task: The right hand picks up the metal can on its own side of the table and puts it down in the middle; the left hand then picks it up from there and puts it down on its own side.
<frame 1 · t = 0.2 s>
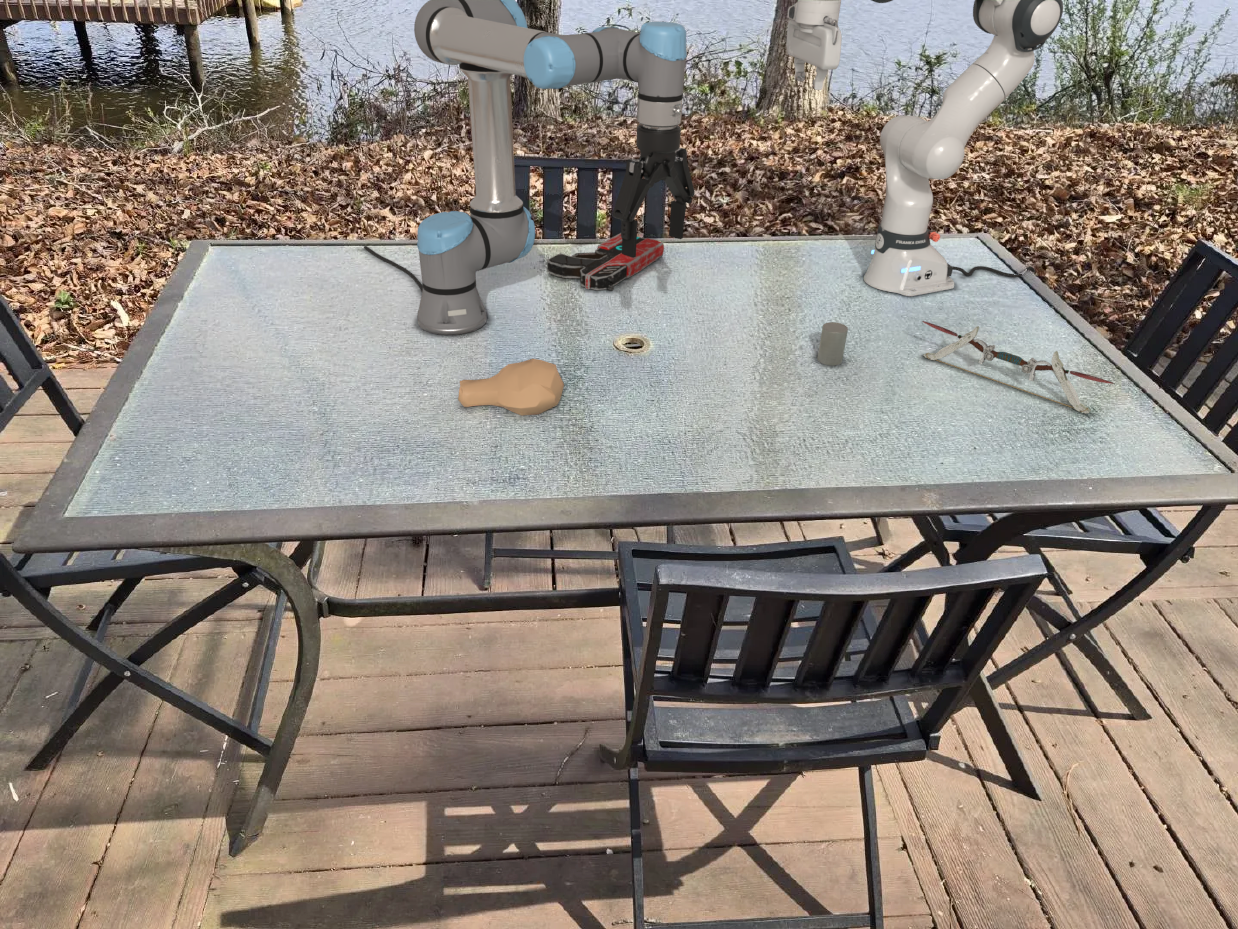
left hand: (652, 246, 160), 28 cm above the table, tool pointing down, fingers open, 13 cm apart
right hand: (807, 84, 190), 48 cm above the table, tool pointing down, fingers open, 8 cm apart
can: (829, 360, 186), on the table
squash: (511, 406, 166), on the table
bow: (1002, 384, 179), on the table
gun: (607, 267, 227), on the table
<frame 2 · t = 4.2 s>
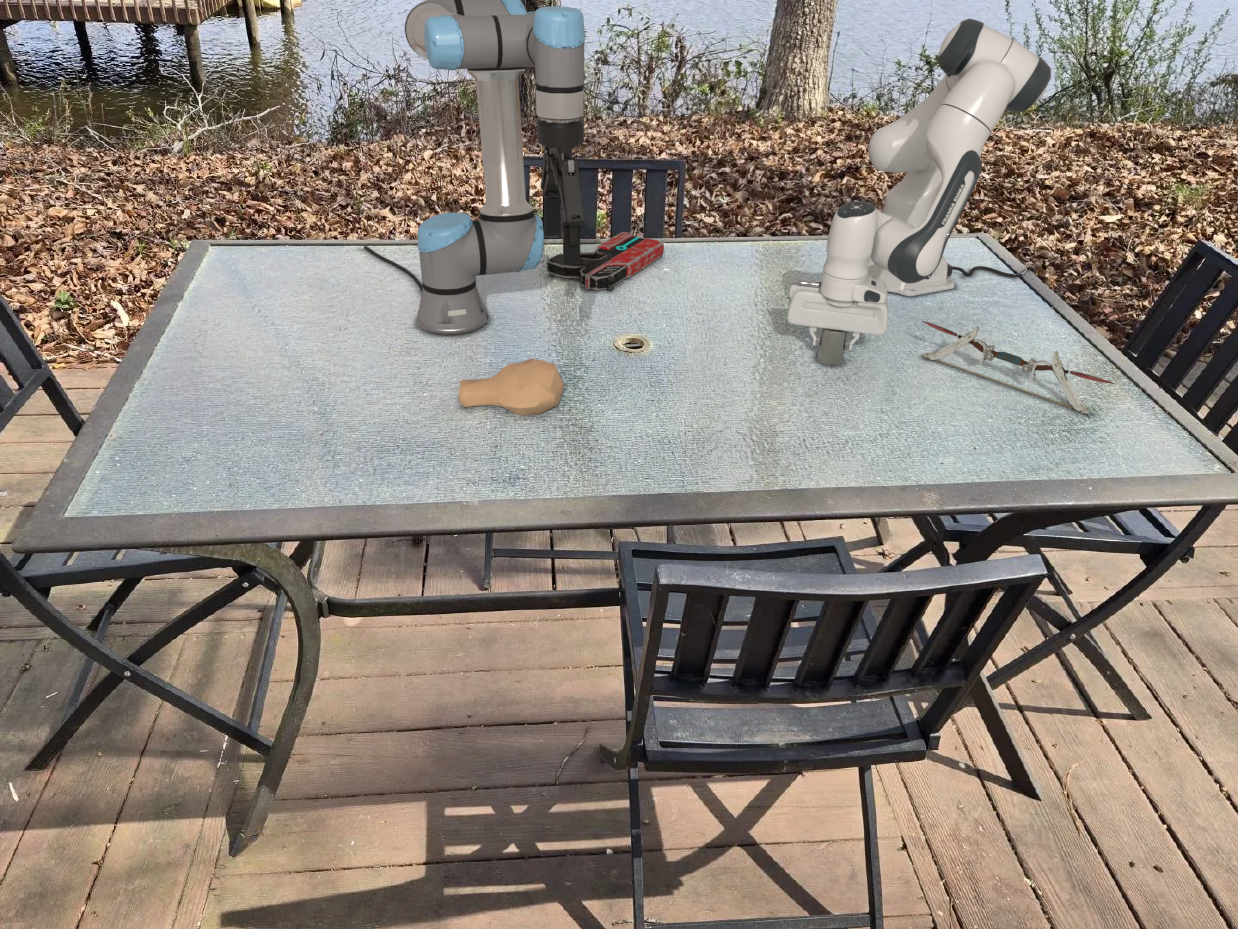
left hand: (561, 248, 150), 31 cm above the table, tool pointing down, fingers open, 13 cm apart
right hand: (832, 347, 184), 3 cm above the table, tool pointing down, fingers closed on can, 5 cm apart
can: (829, 360, 186), on the table, touching right hand
everything else where it was.
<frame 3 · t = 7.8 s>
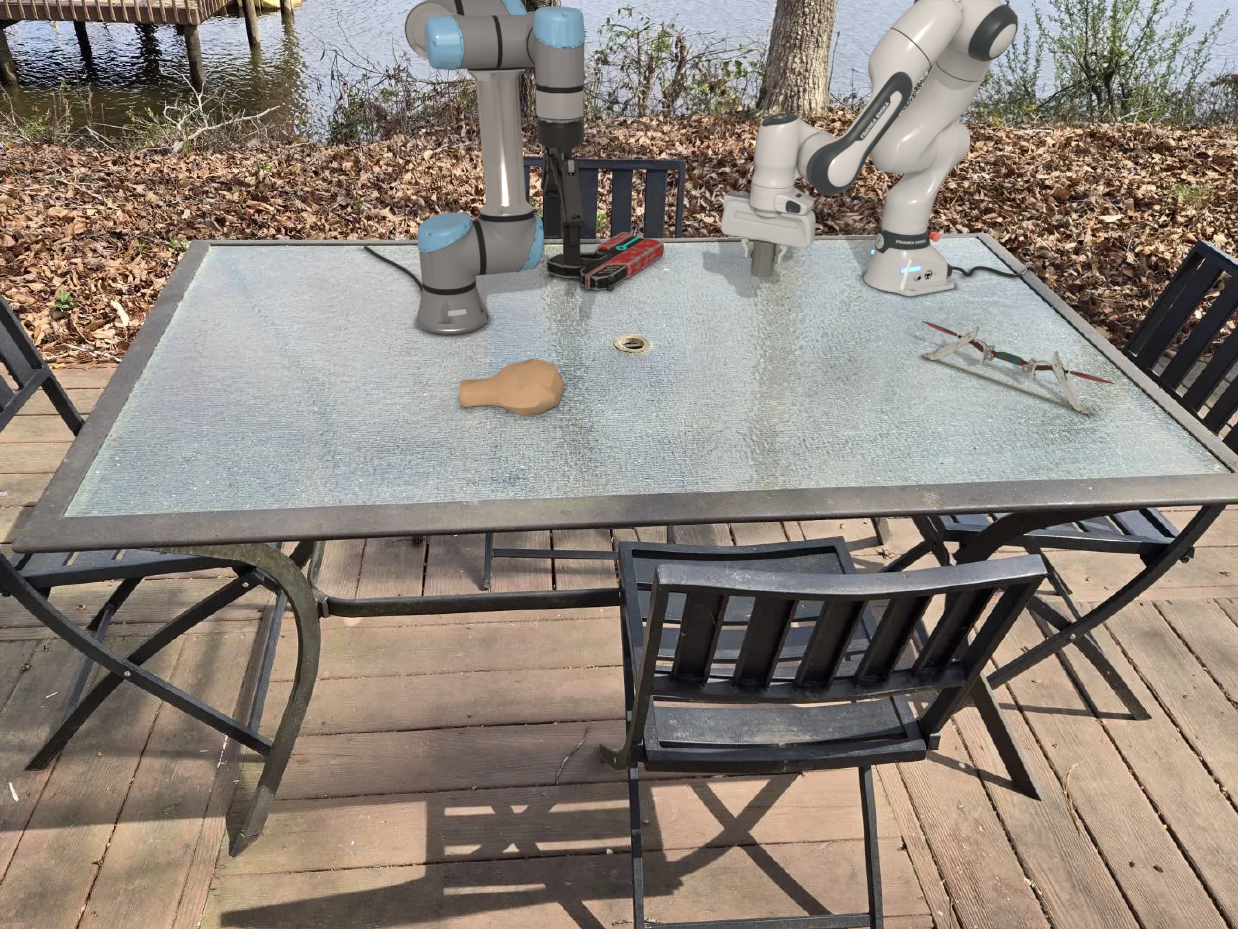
left hand: (561, 248, 150), 31 cm above the table, tool pointing down, fingers open, 13 cm apart
right hand: (763, 260, 191), 15 cm above the table, tool pointing down, fingers closed on can, 5 cm apart
can: (761, 273, 193), point 12 cm above the table, touching right hand
everything else where it was.
when the right hand's fingers open (5 cm above the table, at t = 11.7 s): can drops 2 cm, on the table.
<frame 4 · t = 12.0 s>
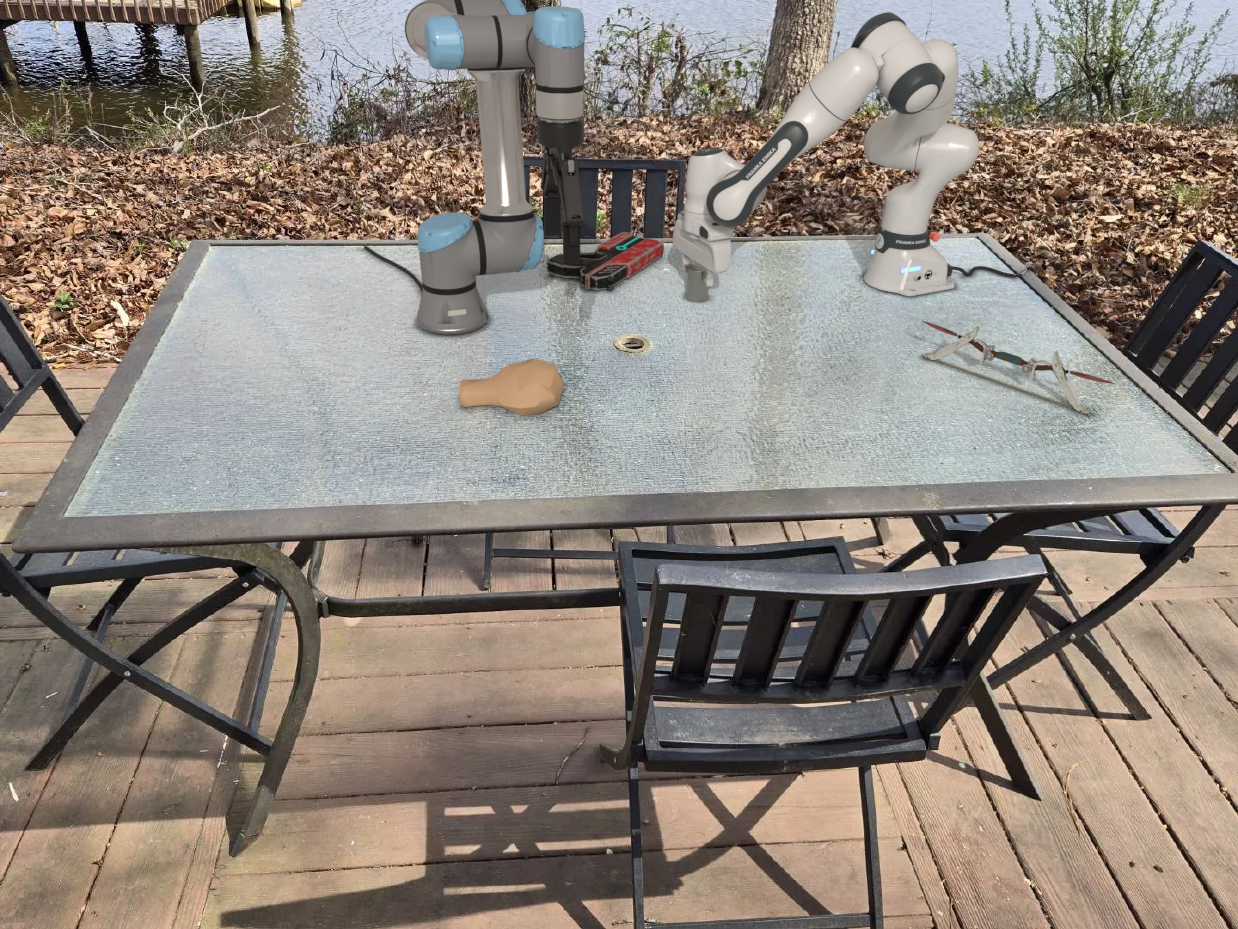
left hand: (561, 248, 150), 31 cm above the table, tool pointing down, fingers open, 13 cm apart
right hand: (697, 278, 209), 5 cm above the table, tool pointing down, fingers open, 8 cm apart
can: (696, 297, 212), on the table
everything else where it was.
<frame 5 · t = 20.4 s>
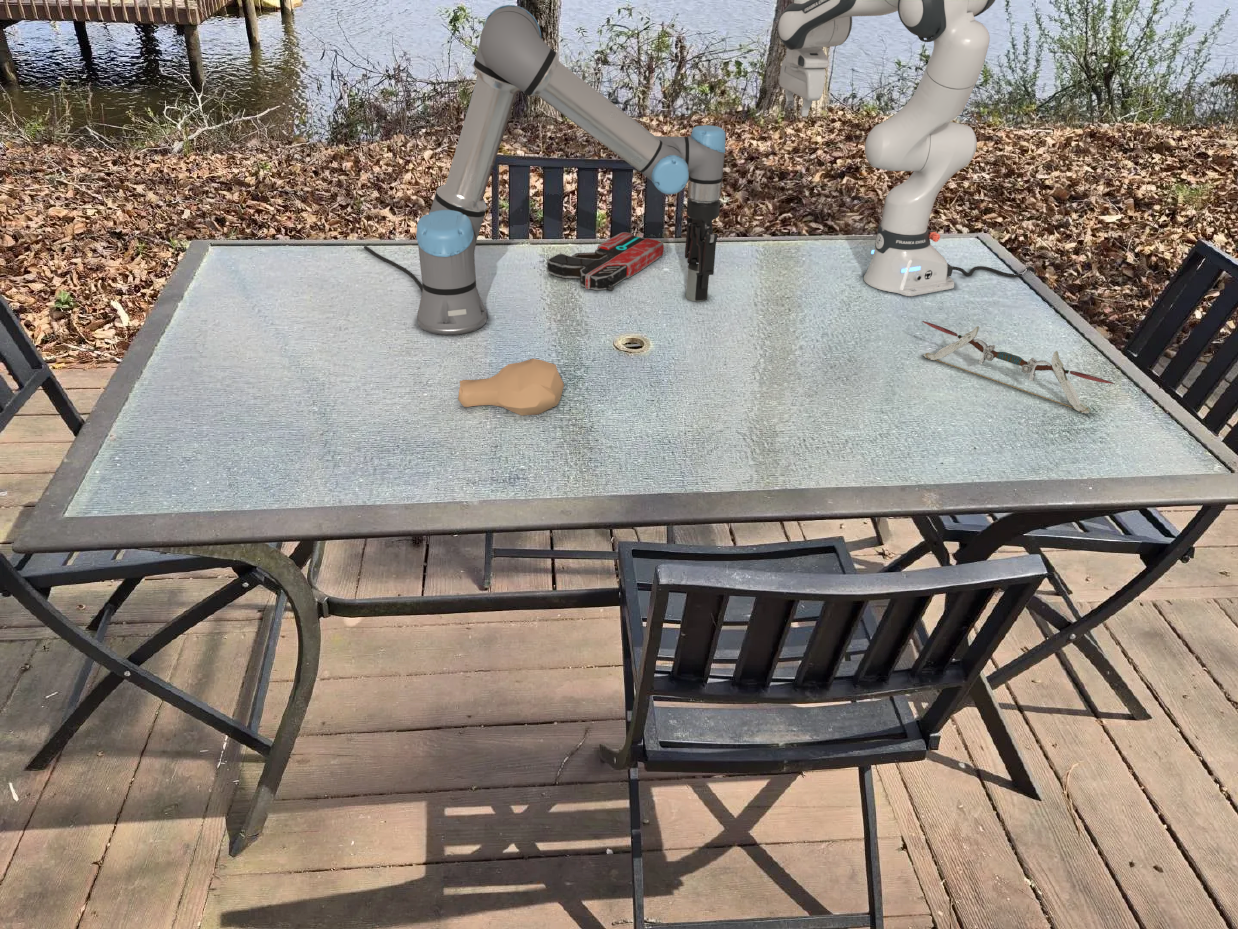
left hand: (696, 294, 212), 1 cm above the table, tool pointing down, fingers closed on can, 5 cm apart
right hand: (796, 111, 233), 33 cm above the table, tool pointing down, fingers open, 8 cm apart
can: (696, 297, 212), on the table, touching left hand
everything else where it was.
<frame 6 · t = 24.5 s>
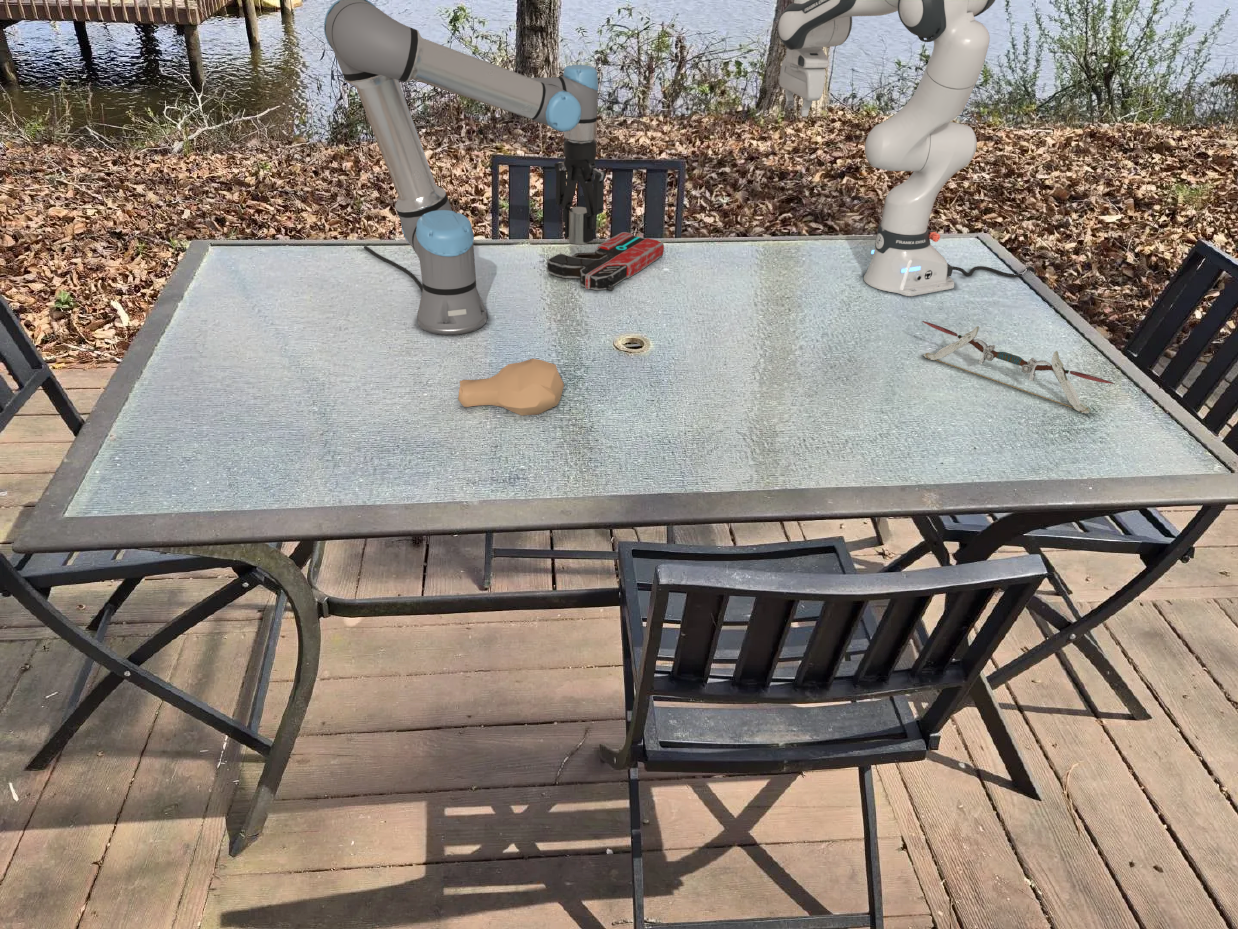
left hand: (578, 238, 213), 11 cm above the table, tool pointing down, fingers closed on can, 5 cm apart
right hand: (796, 111, 233), 33 cm above the table, tool pointing down, fingers open, 8 cm apart
can: (579, 240, 214), point 10 cm above the table, touching left hand
everything else where it was.
when the left hand's fingers open (3 cm above the table, at t = 28.9 s): can drops 2 cm, on the table.
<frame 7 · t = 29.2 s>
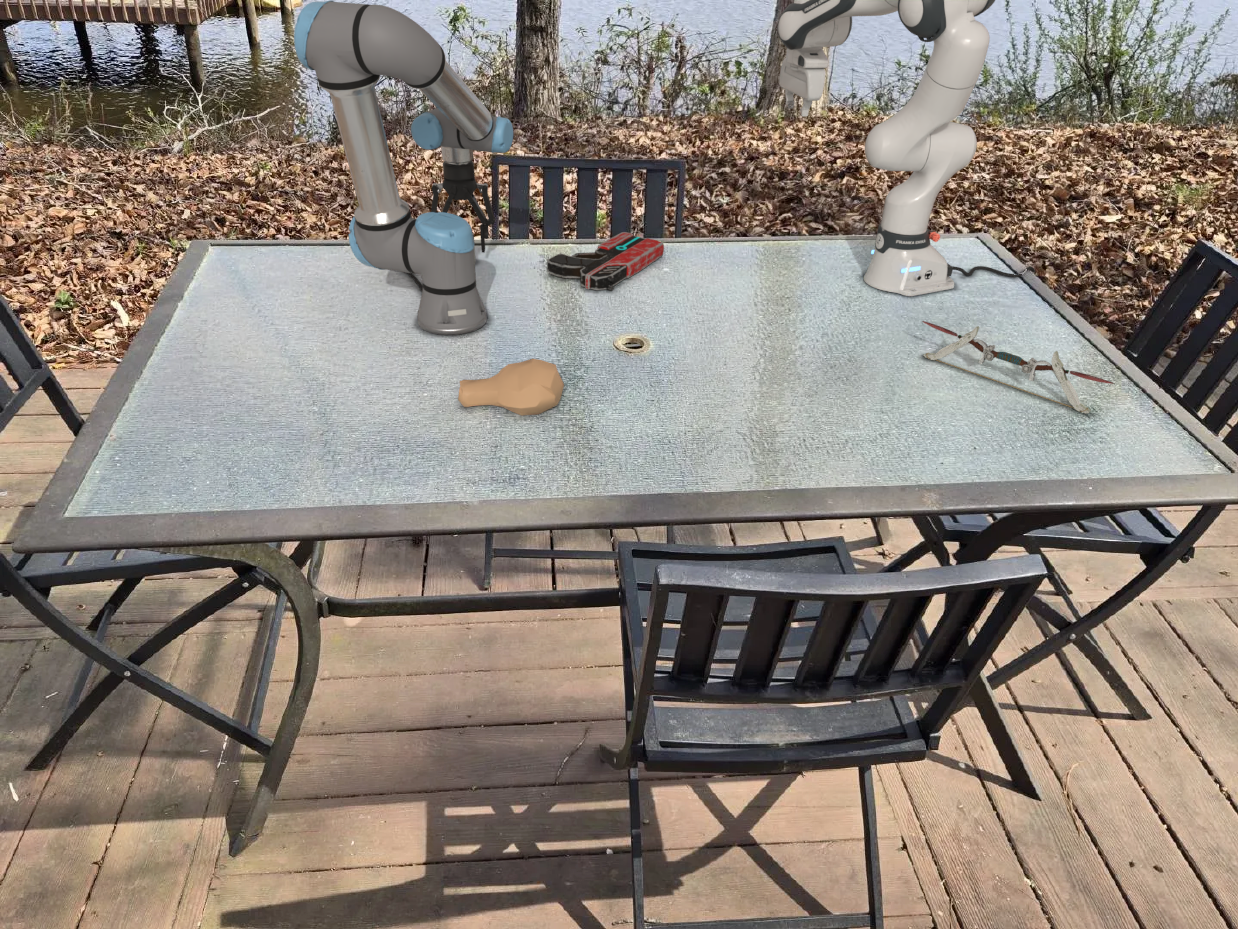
left hand: (464, 250, 226), 3 cm above the table, tool pointing down, fingers open, 9 cm apart
right hand: (796, 111, 233), 33 cm above the table, tool pointing down, fingers open, 8 cm apart
can: (465, 262, 227), on the table
everything else where it was.
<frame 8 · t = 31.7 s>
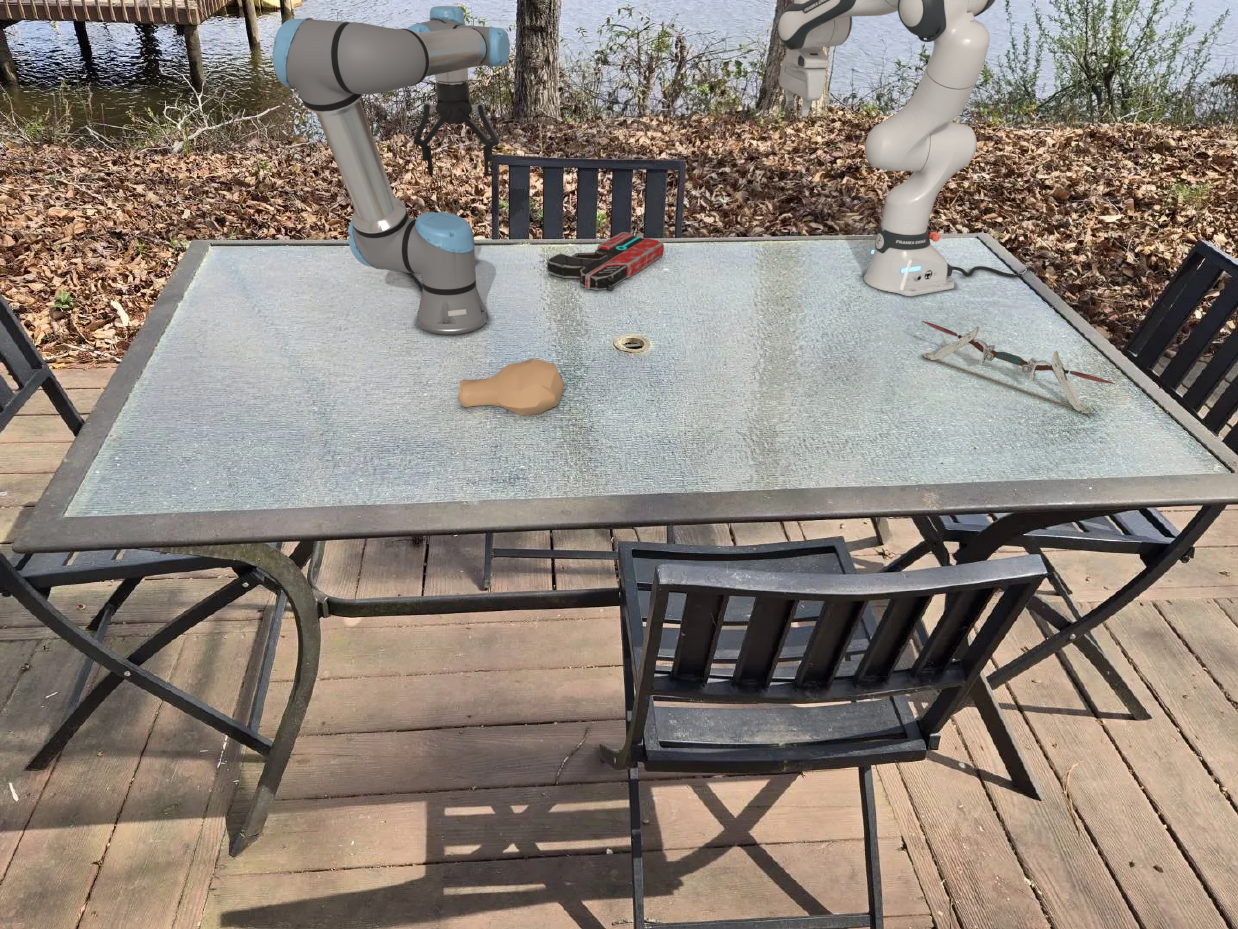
left hand: (459, 174, 215), 22 cm above the table, tool pointing down, fingers open, 13 cm apart
right hand: (796, 111, 233), 33 cm above the table, tool pointing down, fingers open, 8 cm apart
nothing on the table moved.
at the end: can inside the target area (0.1 cm from its centre), on the table; can tilted 0°; the two hands never held the can at the same time; the left hand is holding nothing; the right hand is holding nothing; can at rest at the end (0.0 cm/s) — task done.
